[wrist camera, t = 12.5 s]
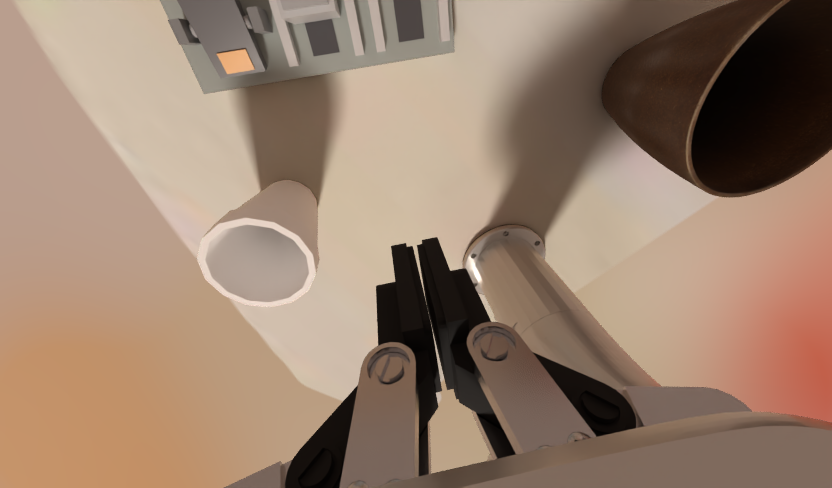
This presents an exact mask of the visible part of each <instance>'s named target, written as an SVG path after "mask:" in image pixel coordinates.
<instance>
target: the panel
mask: <svg viewBox="0 0 832 488" xmlns="http://www.w3.org/2000/svg"><path fill="white" fill-rule="evenodd" d="M160 1H161V4H162V6H163V8H164V10H165V12H166V14H167V16H168V19H169V20H168V21H169V24H170V26H171V28H172V30H173V32H174V34H175V36H176V38H177V41H178V43H179V45H181V46H182V48H183V50H184V53H185V55H186V57H187V59H188V61H189V63H190V65H191V67H192V70H193V72H194V74H195V76H196V78H197V80H198V82H199V84H200V87H201V89H202V91H203V93H204V94H208V93H214V92H220V91H225V90H231V89H237V88H243V87H249V86H255V85H261V84H267V83H273V82H279V81H285V80H291V79H297V78H303V77H309V76H315V75H321V74H327V73H333V72H339V71H345V70H351V69H357V68H363V67H369V66H375V65H381V64H387V63H393V62H399V61H405V60H411V59H417V58H423V57H429V56H435V55H441V54H447V53H453V52H455V51H454V34H453V17H452V0H337V3H338V7H339V12H340V16H341V17H340V18H333V19H327V20H321V21H315V22H308V23H302V24H296V25H295V24H293V23H290V22H288V21H285V20H283V19H282V18H281V15H280V12H279V9H278V5H277V2H276V0H239V1H240V3H241V5H242V8H243V10H244V12H245V15H249V18H250V20H251V23H252V26H253V29H252V31H253V33H254V36H255V38H256V40H257V43H258V45H259V47H260V50H261V52H262V54H263V56H264V59H265V61H266V63H267V66H268V67H267V69H266V71H264V72H258V73H252V74H246V75H240V76H234V77H228V78H222V79H221V78H220V77H219V75H218V73H217V71H216V70H215V68H214V66H213V64H212V62H211V61H210V59H209V57H208V55H207V53H206V52H205V50H204V48H203V46H202V44H201V43H200V41H199V39H198V37H197V38H196V37H195V36H194V35H193V34H192V32H191V30H190V27H189V25H190V23H189V21H188V19H187V17H186V16H185V14H184V12H183V10H182V8H181V7H180V5H179V3H178V1H177V0H160Z"/></svg>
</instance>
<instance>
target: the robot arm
mask: <svg viewBox="0 0 832 488" xmlns="http://www.w3.org/2000/svg"><path fill="white" fill-rule="evenodd" d="M417 248H418V254H419V260H420V267H421V273H422V279H423V285H424V291H425V296H424V292H423V288H422V284H421V280H420V275H419V271H418V267H417V263H416V259H415V254H414V250H413V246H410V247H407V246H406V243H404V244H399V245H394V246H391V249H392V257H393V265H394V273H395V281H396V282H392V283H387V284H382V285H377V286H376V297H377V322H378V346H377V347H375V348H374V349H373V350H372V351H370V352H369V353H368V355H367V356H366V357H365V359H364V361H363V364H362V367H361V372H360V378H359V383H358V386H357V387H356V388H355V389H354V390H353V391H352V392H351V393H350V395H349V396H348V397H347V398H346V399H345V400H344V401H343V402H342V403H341V405H340V406H339V407H338V408H337V409H336V410H335V411H334V412H333V413H332V415H331V416H330V417H329V418H328V419H327V420H326V421H325V422H324V423H323V425H322V426H321V427H320V428H319V429H318V430H317V431H316V432H315V434H314V435H313V436H312V437H311V438H310V439H309V440H308V441H307V442H306V444H305V445H304V446H303V447H302V448H301V449H300V450H299V452H298V453H297V454H296V456H295V457H294V458H293V460H291V461H289V462H287V463H285V464H282V463H281V462H278V463H276V464H273V465H271V466H269V467H267V468H265V469H263V470H261V471H258V472H256V473H254V474H252V475H250V476H248V477H246V478H244V479H241V480H239V481H237V482H235V483H233V484H231V485H229V486H227V487H224V488H832V423H831V422H827V421H822V420H818V419H813V418H807V417H802V416H796V415H789V414H780V413H771V412H752V411H751V410H750V409H749V408H748V407H747V406H746V405H745V404H744V403H743V402H741V401H740V400H738V399H737V398H735V397H733V396H732V395H730V394H727V393H725V392H723V391H720V390H717V389H712V388H706V387H705V388H704V387H662V386H661V385H660V384H658V383H657V382H656V381H655V380H654V379H653V378H652V377H651V376H649V375H648V374H647V373H646V372H645V371H644V370H643V369H642V368H641V367H640V366H639V365H638V364H637V363H636V362H635V361H633V360H632V358H631V357H630V356H629V355H628V354H627V353H626V352H625V351H624V350H623V349H622V348H621V347H620V346H619V345H618V344H617V343H616V342H615V340H614V339H613V338H612V337H611V336H610V335H609V334H608V333H607V332H606V330H605V329H604V328H603V327H602V326H601V325H600V324H599V323H598V321H597V320H596V319H595V318H594V317H593V316H592V314H591V313H590V312H589V311H588V310H587V309H586V307H585V306H584V305H583V304H582V303H581V302H580V300H579V299H578V298H577V297H576V296H575V295H574V293H573V292H572V291H571V290H570V289H569V288H568V287H567V285H566V284H565V283H564V282H563V281H562V280H561V278H560V277H559V276H558V275H557V274H556V273H555V272H554V270H553V269H552V268H551V267H550V266H549V265H548V263H547V262H546V261H545V247H544V243H543V242H542V240H541V238H540V237H539V236H538V235H537V234H536V233H535V232H534V231H532V230H531V229H529V228H527V227H524V226H520V225H506V226H500V227H497V228H494V229H492V230H490V231H488V232H486V233H484V234H483V235H482V236H480V237H479V238H478V239H477V240H476V241H475V242H474V243H473V244H472V245H471V246H470V248H469V249H468V251H467V253H466V255H465V257H464V261H463V269H458V270H453V271H450V269H449V267H448V264H447V262H446V259H445V256H444V254H443V251H442V249H441V246H440V243H439V241H438V238H437V237H436V238H430V239H425V240H422V244H420V245H417ZM477 292H478V293H479V294H482V295H485V297H486V299H487V301H488V303H489V305H490V307H491V309H492V311H493V314H494V318H495V320H496V321H497V322H491V321H490V318H489V316H488V314H487V312H486V310H485V308H484V305H483V303H482V301H481V299H480V297H479V295H478V293H477ZM425 297H426V300H425ZM426 303H427V305H426ZM427 308H428V309H427ZM428 312H429V313H428ZM429 316H430V317H429ZM430 320H431V322H430ZM431 324H432V327H431ZM432 329H433V332H432ZM433 333H434V337H435V341H436V345H437V349H438V354H439V358H440V362H441V366H442V370H443V374H444V379H445V383H446V387H447V390H449V389H454V392H455V396H456V399H459V402H460V403H461V404H463V405H465V406H466V407H468V408H470V409H471V410H472V413H473V416H474V419H475V421H476V423H477V425H478V428H479V430H480V432H481V434H482V436H483V439H484V441H485V443H486V445H487V447H488V449H489V452H490V454H489V456H488V459H487V461H486V462H481V463H477V464H472V465H468V466H463V467H459V468H454V469H450V470H446V471H441V472H437V473H432V474H431V447H430V424H429V420H430V419H431V417H432V415H433V414H434V413H435V411H436V410H437V408H438V403H437V397H436V392H440V391H442V388H441V382H440V376H439V369H438V363H437V357H436V351H435V344H434V338H433Z"/></svg>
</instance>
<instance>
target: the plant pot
mask: <svg viewBox="0 0 832 488" xmlns="http://www.w3.org/2000/svg"><path fill="white" fill-rule="evenodd" d="M602 101H603V104H604V107H605V109H606V110H607V112H608V113H609V114H610V116H611V117H612V118H613V120H614V121H615V122H616V123H617V125H618V126H619V127H620V128H621V129H622V130H623V131H624V132H625V133H626V134H627V135H628V136H629V137H630V138H631V139H632V140H633V141H634V142H635V143H636V144H637V145H638V146H639V147H641V148H642V149H643V150H644V151H645V152H647V153H648V154H649V155H650V156H651V157H653V158H654V159H655V160H657V161H658V162H659V163H661V164H662V165H664V166H665V167H667V168H668V169H669V170H671V171H673V172H674V173H676V174H677V175H679V176H680V177H682V178H683V179H685V180H687V181H688V182H690V183H692V184H693V185H695V186H697V187H698V188H700V189H702V190H703V191H705V192H707V193H709V194H712V195H715V196H719V197H742V196H747V195H751V194H755V193H758V192H761V191H765V190H767V189H770V188H772V187H774V186H776V185H779V184H781V183H783V182H784V181H786V180H788V179H790V178H792V177H794V176H795V175H797V174H799V173H800V172H802V171H803V170H805V169H806V168H808V167H809V166H811V165H812V164H814V163H815V162H816V161H818V160H819V159H820V158H821V157H823V156H824V155H825V154H827V153H828V152H829V151H830V150H831V149H832V0H737V1H734V2H732V3H729V4H726V5H723V6H720V7H718V8H715V9H713V10H710V11H708V12H705V13H703V14H700V15H698V16H695V17H693V18H691V19H688V20H686V21H683V22H681V23H679V24H677V25H675V26H672V27H670V28H668V29H666V30H664V31H662V32H660V33H658V34H656V35H654V36H652V37H650V38H649V39H647V40H645V41H643V42H641V43H639V44H638V45H636V46H634V47H633V48H631V49H629V50H628V51H626V52H625V53H624V54H622V55H621V56H620V57H619V58H618V59H617V60H616V61H615V63H614V64H613V65H612V67H611V68H610V70H609V71H608V73H607V75H606V78H605V80H604V84H603V88H602Z"/></svg>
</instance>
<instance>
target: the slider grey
mask: <svg viewBox="0 0 832 488" xmlns="http://www.w3.org/2000/svg"><path fill="white" fill-rule="evenodd" d="M276 2H277V5H278V9H279V12H280V15H281V18H282V19H283V20H285V21H288V22H290V23H293V24H295V25H296V24H302V23H308V22H315V21H321V20H327V19H333V18H340V17H341V16H340V12H339V7H338V3H337V0H276Z"/></svg>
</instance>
